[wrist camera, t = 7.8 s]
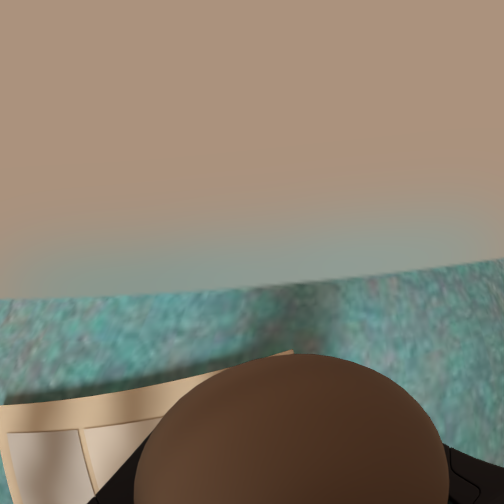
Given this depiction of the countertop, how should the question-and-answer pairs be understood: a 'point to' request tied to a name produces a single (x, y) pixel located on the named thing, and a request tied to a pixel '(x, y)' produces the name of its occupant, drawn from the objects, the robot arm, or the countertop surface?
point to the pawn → (294, 439)
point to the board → (80, 439)
